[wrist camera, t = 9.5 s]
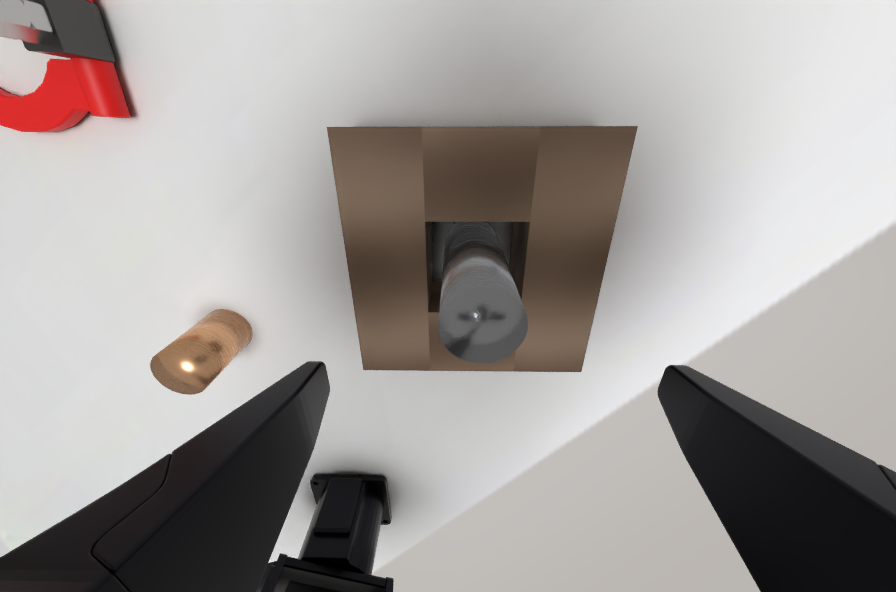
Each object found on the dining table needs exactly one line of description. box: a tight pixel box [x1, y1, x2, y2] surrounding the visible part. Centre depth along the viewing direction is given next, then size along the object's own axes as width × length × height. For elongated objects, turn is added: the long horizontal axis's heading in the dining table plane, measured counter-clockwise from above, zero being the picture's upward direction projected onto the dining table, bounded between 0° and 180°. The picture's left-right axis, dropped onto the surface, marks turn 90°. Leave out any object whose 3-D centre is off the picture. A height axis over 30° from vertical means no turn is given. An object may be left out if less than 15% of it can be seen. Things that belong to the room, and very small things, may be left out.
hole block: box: [327, 126, 638, 372], centre depth 17 cm, size 12×12×4 cm
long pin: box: [438, 222, 528, 363], centre depth 15 cm, size 3×3×9 cm
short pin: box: [150, 309, 252, 394], centre depth 20 cm, size 3×3×4 cm
